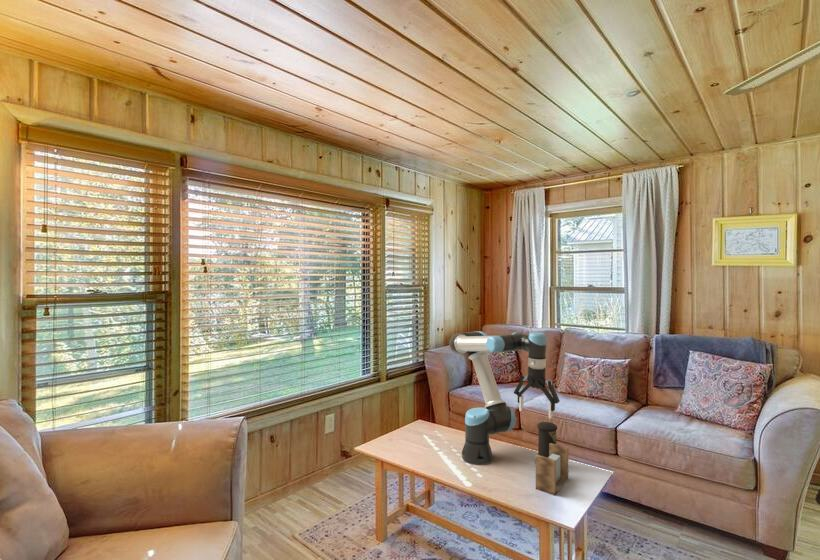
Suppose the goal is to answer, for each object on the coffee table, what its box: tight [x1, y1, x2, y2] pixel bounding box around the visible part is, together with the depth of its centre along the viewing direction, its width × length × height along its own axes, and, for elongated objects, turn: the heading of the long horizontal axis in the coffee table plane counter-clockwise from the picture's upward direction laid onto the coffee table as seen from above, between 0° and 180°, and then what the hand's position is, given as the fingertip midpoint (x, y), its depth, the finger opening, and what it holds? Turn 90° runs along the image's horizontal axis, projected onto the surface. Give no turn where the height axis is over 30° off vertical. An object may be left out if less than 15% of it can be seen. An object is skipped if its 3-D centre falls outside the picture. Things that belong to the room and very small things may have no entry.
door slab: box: [548, 454, 560, 483], centre depth 176 cm, size 4×10×10 cm, turn 141°
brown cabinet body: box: [535, 443, 569, 496], centre depth 175 cm, size 8×17×14 cm, turn 141°
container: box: [537, 421, 558, 458], centre depth 192 cm, size 9×9×20 cm
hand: (535, 413), depth 183 cm, fingers open, 13 cm apart
